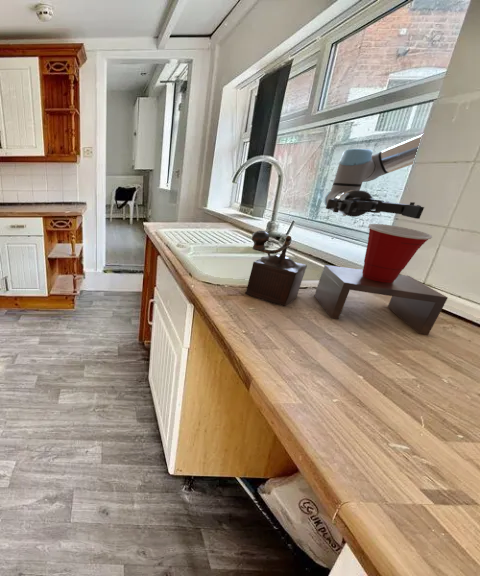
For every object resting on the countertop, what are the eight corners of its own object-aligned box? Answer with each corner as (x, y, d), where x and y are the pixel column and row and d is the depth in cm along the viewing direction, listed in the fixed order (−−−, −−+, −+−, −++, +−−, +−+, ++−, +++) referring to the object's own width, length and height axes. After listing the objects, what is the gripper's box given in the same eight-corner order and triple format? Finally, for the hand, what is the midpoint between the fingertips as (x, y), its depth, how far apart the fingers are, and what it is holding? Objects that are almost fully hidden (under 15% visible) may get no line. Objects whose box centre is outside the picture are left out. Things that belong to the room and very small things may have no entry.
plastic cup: (386, 288, 66) (410, 233, 62) (338, 272, 76) (356, 223, 71) (422, 286, 69) (447, 233, 64) (371, 270, 78) (391, 223, 74)
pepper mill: (255, 285, 90) (272, 224, 84) (297, 297, 83) (319, 231, 76) (233, 298, 80) (249, 230, 74) (279, 313, 73) (301, 239, 66)
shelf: (394, 308, 79) (409, 275, 76) (428, 335, 66) (448, 297, 63) (314, 295, 85) (324, 264, 82) (330, 318, 72) (344, 282, 69)
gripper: (398, 219, 91) (443, 231, 73) (302, 211, 99) (320, 220, 81) (408, 193, 88) (458, 198, 70) (309, 187, 96) (330, 190, 78)
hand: (384, 210), depth 75 cm, fingers open, 13 cm apart
